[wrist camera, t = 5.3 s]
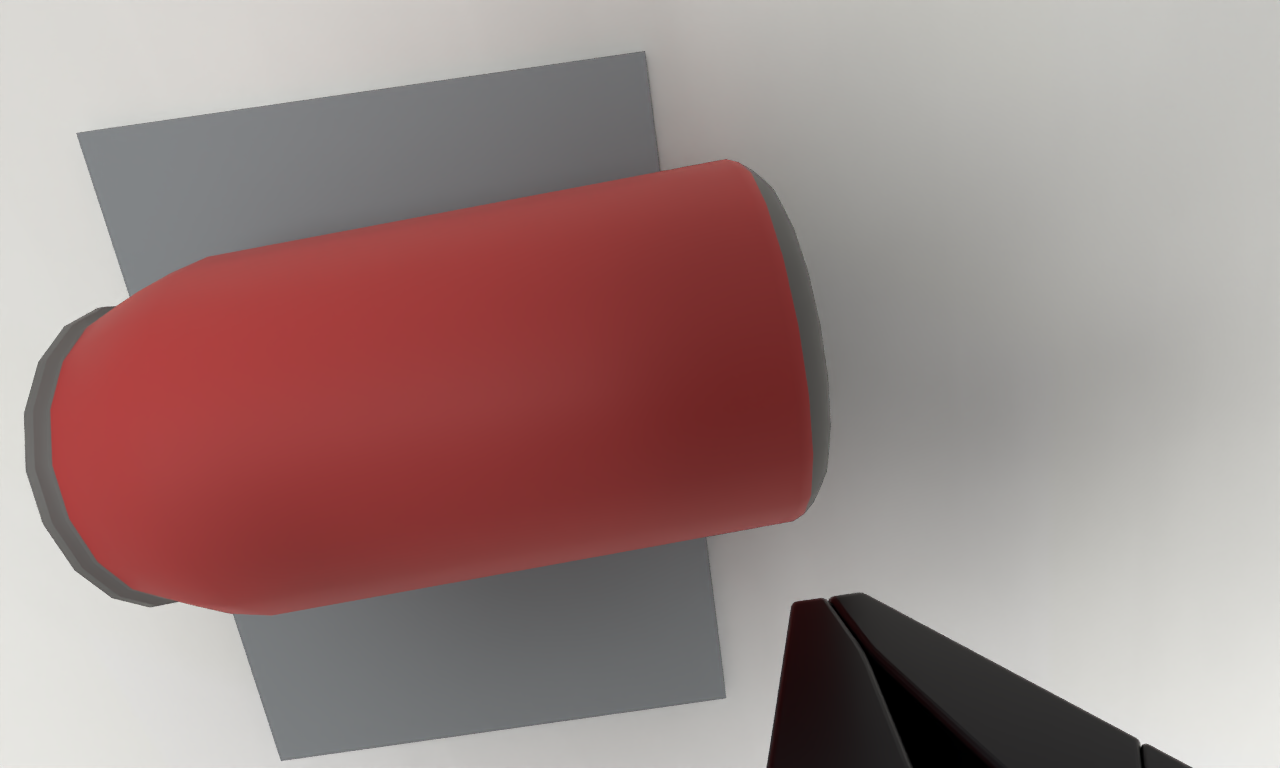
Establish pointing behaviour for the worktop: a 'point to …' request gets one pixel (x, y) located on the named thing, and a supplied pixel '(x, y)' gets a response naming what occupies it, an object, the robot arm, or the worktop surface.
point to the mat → (382, 193)
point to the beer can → (439, 399)
